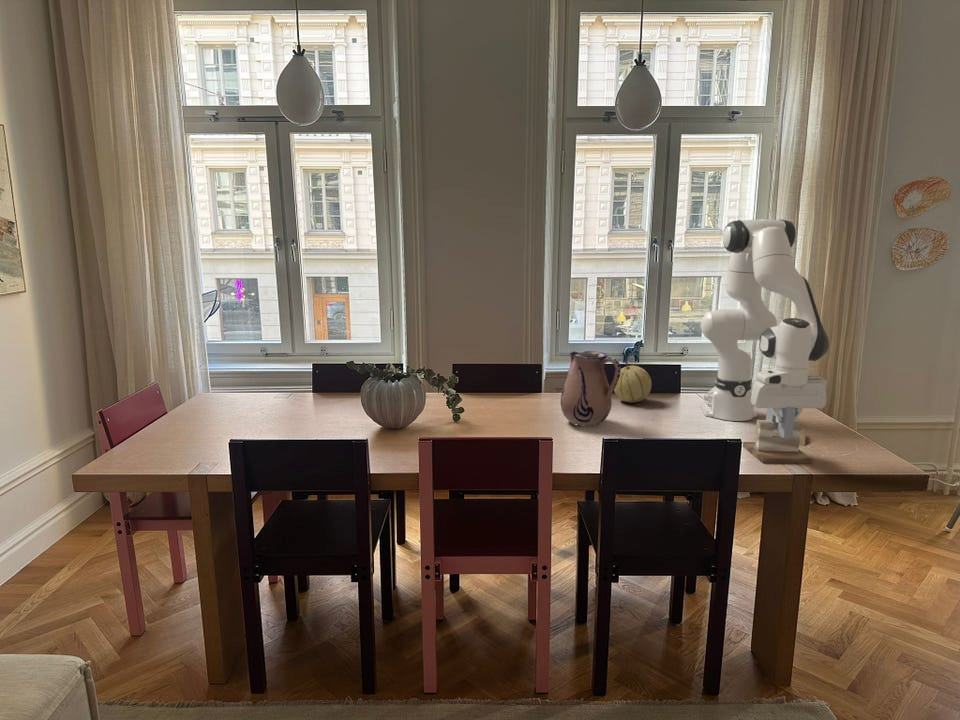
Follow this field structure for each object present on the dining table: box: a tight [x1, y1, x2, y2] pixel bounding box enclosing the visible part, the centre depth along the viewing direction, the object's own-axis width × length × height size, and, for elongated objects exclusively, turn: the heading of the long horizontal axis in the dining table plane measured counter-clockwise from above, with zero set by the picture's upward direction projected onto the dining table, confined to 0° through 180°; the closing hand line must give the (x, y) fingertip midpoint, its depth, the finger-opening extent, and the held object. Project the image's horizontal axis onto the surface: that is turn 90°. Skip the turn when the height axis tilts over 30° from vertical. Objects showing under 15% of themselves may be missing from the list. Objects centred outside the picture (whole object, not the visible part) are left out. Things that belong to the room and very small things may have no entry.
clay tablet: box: [773, 430, 806, 447], centre depth 198 cm, size 14×10×3 cm
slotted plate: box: [765, 408, 795, 438], centre depth 180 cm, size 12×2×9 cm, turn 179°
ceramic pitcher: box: [560, 350, 622, 427], centre depth 210 cm, size 18×21×25 cm
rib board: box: [742, 419, 813, 464], centre depth 182 cm, size 14×14×10 cm
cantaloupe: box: [613, 365, 652, 403], centre depth 239 cm, size 15×15×15 cm
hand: (786, 422), depth 176 cm, fingers closed on slotted plate, 2 cm apart
